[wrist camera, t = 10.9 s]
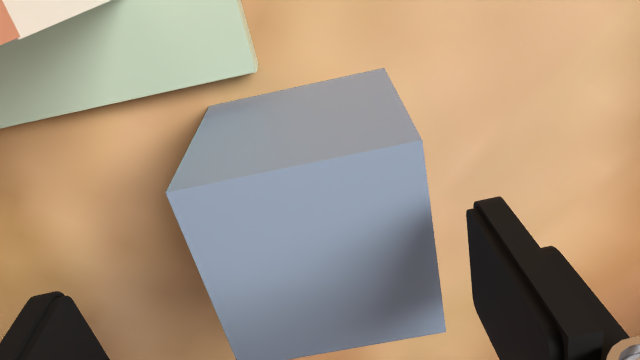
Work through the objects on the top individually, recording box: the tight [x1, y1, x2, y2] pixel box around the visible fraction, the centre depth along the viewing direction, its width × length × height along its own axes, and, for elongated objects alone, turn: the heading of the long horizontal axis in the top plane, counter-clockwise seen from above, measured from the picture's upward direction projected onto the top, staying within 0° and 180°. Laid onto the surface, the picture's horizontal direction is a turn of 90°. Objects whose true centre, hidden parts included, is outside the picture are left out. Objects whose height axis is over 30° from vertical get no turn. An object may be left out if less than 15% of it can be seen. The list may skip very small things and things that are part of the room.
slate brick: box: [166, 68, 446, 360], centre depth 15 cm, size 6×6×6 cm
